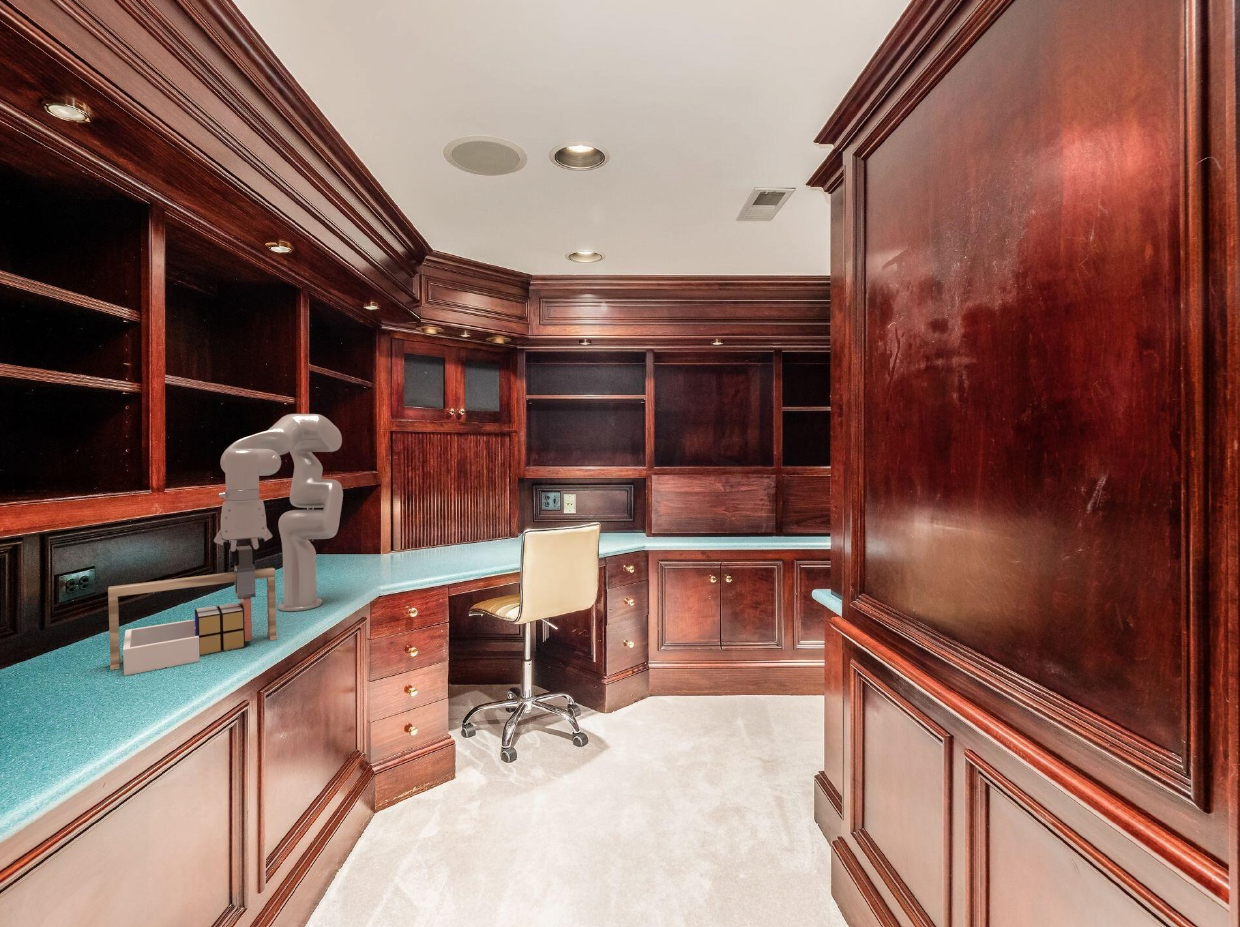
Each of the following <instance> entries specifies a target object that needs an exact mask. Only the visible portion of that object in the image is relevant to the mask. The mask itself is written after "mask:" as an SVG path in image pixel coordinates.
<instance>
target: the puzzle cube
mask: <svg viewBox="0 0 1240 927" xmlns="http://www.w3.org/2000/svg"><path fill="white" fill-rule="evenodd" d="M194 619H195V636H199V654H200V657H201V656H207V655H211V654H217V653H216V652H218V653H221V652H226V650H228V651H233V650H232V649H234V650H238V649H244V648H245V647H246V641H245V630H244V628H245V627H244V610H243V608H242V607H241V605H240V602H233V603H226V604H219V605H213V606H206V607H199V608H195V609H194ZM206 654H207V655H206Z"/></svg>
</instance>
